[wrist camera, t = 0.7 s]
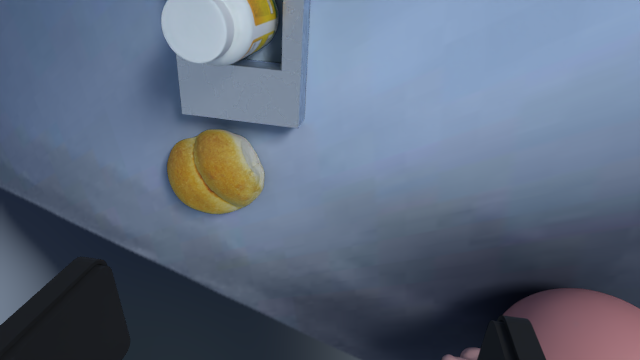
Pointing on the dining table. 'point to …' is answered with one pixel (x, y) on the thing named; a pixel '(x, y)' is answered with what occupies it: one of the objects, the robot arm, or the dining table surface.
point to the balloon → (577, 325)
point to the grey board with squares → (254, 80)
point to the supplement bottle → (218, 28)
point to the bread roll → (215, 172)
